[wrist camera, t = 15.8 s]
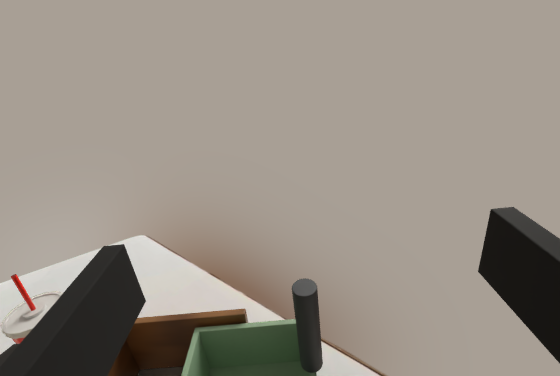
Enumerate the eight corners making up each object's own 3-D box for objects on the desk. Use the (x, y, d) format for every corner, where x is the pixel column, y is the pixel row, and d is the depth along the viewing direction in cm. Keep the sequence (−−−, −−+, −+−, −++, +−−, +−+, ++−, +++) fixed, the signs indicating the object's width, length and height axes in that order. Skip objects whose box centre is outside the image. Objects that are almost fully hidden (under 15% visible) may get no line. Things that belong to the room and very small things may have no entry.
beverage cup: (90, 334, 43) (47, 250, 37) (95, 366, 38) (47, 276, 32) (36, 361, 40) (-19, 274, 34) (36, 399, 35) (-29, 307, 29)
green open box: (319, 358, 36) (310, 247, 29) (334, 468, 26) (326, 342, 20) (207, 367, 36) (174, 260, 30) (183, 478, 27) (127, 358, 20)
